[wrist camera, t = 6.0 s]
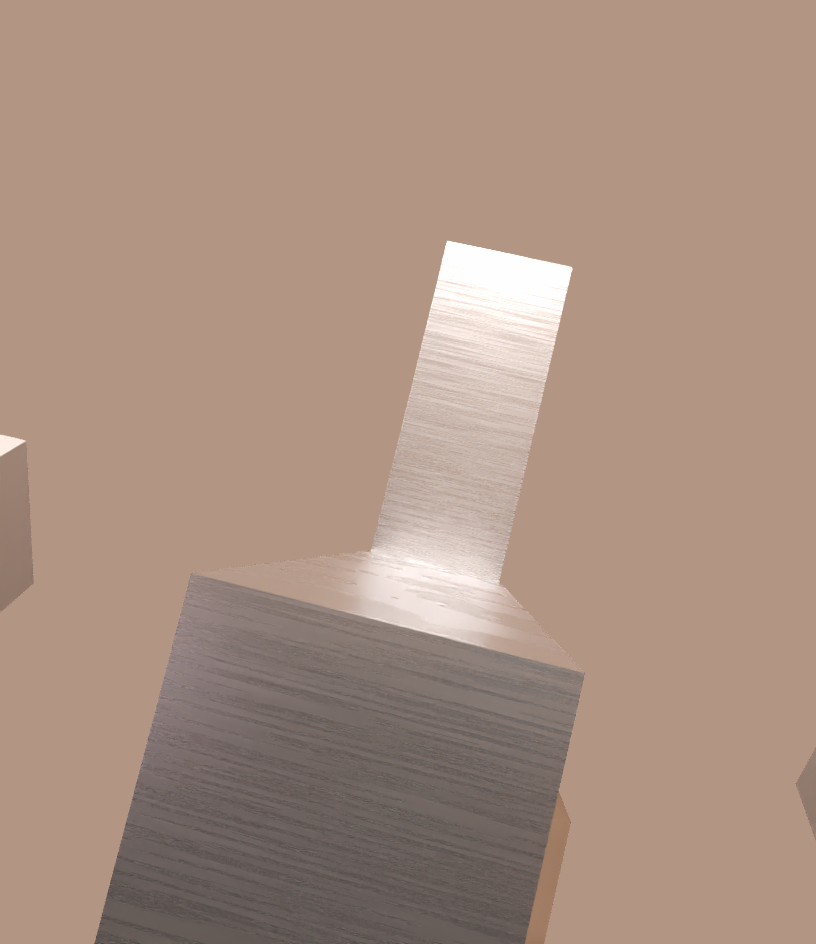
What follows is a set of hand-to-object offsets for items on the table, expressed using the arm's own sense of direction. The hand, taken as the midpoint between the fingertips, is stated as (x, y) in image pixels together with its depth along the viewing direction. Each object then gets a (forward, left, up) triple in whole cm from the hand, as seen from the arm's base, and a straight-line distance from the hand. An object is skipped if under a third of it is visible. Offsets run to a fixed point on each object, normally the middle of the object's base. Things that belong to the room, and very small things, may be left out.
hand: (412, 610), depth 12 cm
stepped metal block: (0, +5, -4) cm, 7 cm away
